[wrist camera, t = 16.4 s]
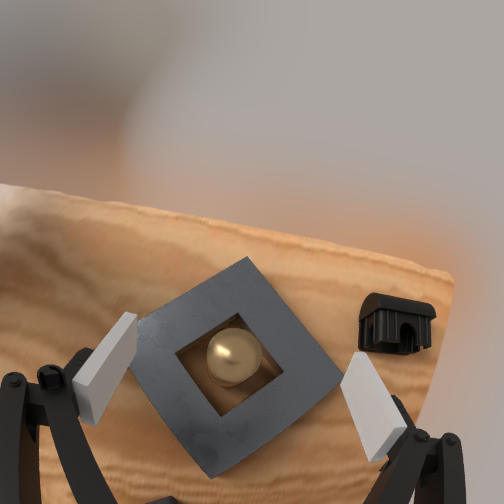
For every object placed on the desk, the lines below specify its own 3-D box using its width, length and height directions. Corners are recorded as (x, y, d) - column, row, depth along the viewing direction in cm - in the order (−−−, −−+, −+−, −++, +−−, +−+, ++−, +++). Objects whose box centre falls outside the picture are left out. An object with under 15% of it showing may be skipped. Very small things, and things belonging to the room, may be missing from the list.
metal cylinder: (199, 362, 34) (195, 346, 25) (231, 340, 36) (240, 318, 27) (223, 394, 32) (228, 391, 24) (255, 372, 34) (272, 360, 26)
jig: (118, 342, 33) (112, 336, 31) (244, 266, 41) (247, 256, 39) (210, 473, 27) (211, 479, 24) (335, 379, 35) (345, 377, 32)
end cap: (409, 312, 41) (435, 296, 36) (410, 355, 38) (438, 344, 32) (356, 303, 41) (379, 284, 35) (354, 350, 38) (379, 338, 32)
